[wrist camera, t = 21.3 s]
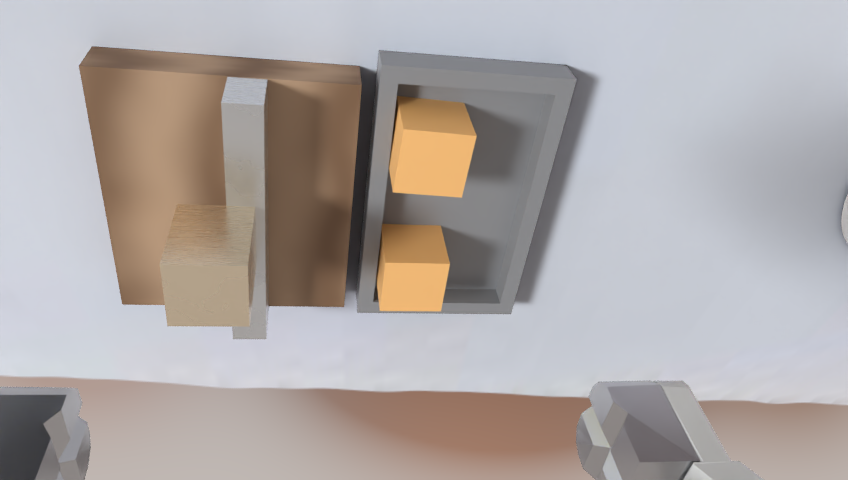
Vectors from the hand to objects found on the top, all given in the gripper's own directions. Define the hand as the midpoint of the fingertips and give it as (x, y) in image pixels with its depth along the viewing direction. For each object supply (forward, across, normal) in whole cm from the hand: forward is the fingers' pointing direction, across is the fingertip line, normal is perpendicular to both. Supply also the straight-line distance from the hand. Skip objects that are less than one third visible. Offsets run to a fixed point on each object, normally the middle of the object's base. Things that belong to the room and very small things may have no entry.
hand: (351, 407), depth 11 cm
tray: (+29, -9, +14) cm, 34 cm away
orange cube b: (+29, -6, +19) cm, 35 cm away
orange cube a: (+29, -6, +10) cm, 31 cm away
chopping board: (+29, +5, +14) cm, 33 cm away
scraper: (+27, +5, +14) cm, 31 cm away
